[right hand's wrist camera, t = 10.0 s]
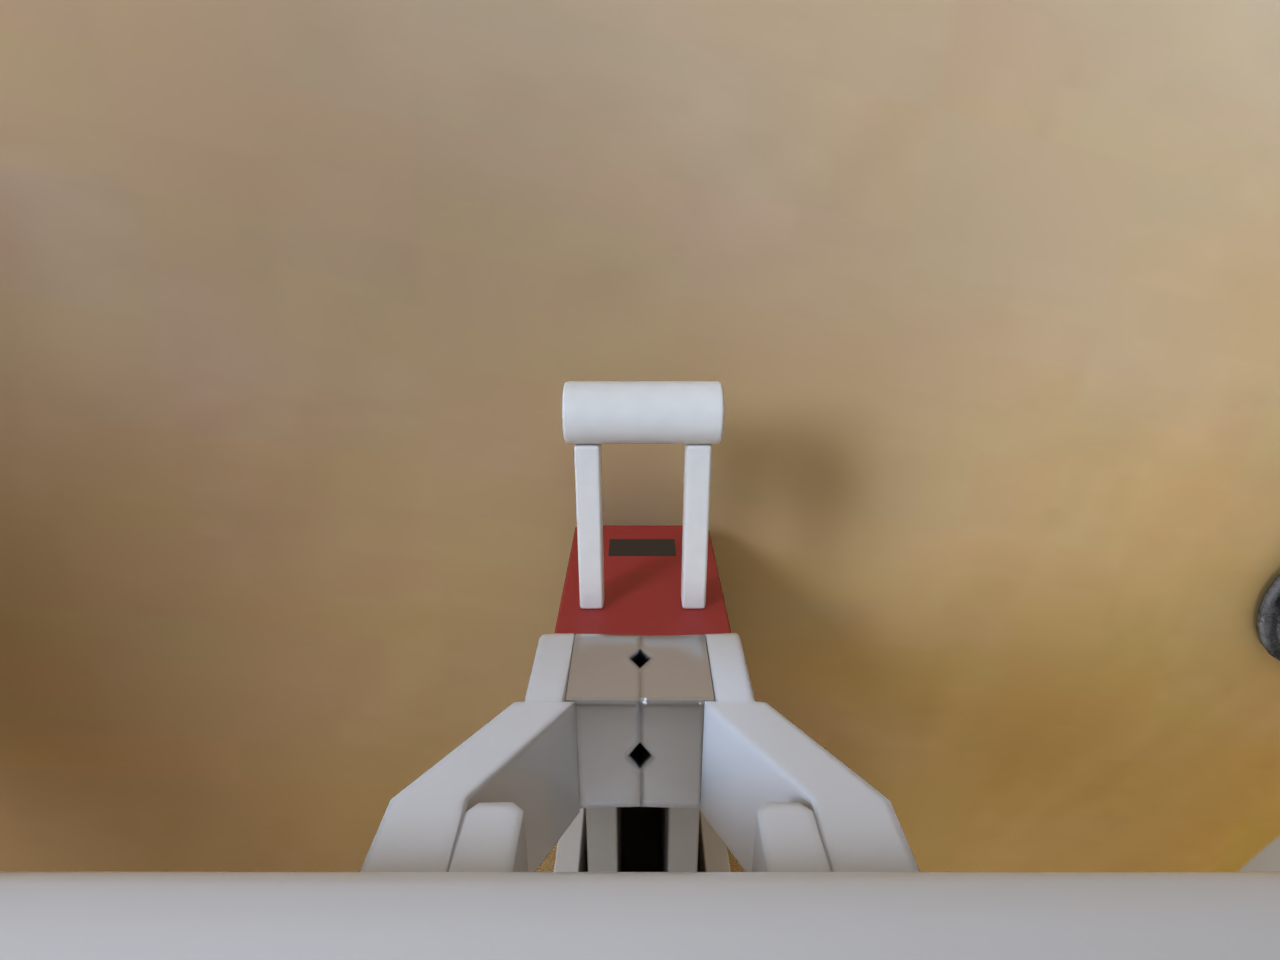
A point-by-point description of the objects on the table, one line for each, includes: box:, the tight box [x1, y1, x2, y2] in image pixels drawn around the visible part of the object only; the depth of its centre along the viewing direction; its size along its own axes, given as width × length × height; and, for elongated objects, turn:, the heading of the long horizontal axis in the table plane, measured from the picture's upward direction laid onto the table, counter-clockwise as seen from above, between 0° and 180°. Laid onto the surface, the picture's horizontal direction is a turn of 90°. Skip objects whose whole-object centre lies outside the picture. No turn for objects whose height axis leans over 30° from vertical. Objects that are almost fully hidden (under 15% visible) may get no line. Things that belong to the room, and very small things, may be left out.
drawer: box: [555, 381, 731, 872], centre depth 21 cm, size 22×4×7 cm, turn 0°
